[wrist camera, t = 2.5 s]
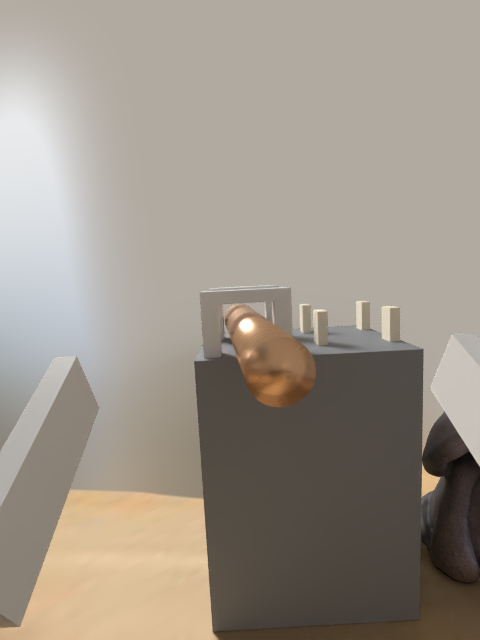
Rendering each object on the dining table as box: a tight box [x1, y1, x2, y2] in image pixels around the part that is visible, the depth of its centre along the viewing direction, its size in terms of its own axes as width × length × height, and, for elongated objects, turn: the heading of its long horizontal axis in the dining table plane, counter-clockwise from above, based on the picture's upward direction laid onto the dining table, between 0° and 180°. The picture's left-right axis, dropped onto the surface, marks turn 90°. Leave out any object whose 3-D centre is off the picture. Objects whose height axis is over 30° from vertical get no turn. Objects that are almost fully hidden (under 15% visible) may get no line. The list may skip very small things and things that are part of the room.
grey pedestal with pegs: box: [194, 285, 423, 632], centre depth 41 cm, size 21×16×34 cm
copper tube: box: [225, 304, 316, 407], centre depth 32 cm, size 26×4×4 cm
